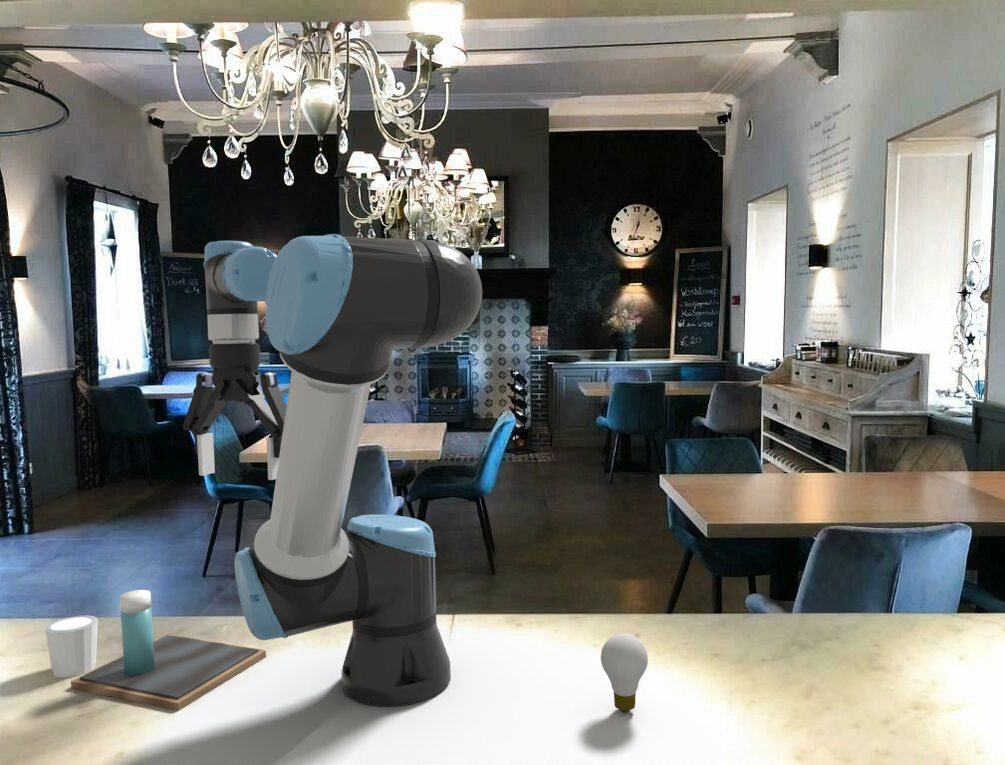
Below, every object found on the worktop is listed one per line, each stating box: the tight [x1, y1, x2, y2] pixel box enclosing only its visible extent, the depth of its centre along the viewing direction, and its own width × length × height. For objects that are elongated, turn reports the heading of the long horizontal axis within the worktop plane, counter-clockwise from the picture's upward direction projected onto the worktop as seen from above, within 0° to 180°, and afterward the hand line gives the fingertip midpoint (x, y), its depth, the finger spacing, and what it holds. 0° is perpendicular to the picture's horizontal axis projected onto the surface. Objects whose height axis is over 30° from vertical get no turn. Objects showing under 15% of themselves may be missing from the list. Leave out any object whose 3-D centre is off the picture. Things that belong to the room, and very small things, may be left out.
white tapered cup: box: [44, 615, 98, 678], centre depth 115 cm, size 7×7×7 cm
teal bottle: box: [119, 589, 155, 675], centre depth 111 cm, size 4×4×11 cm
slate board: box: [70, 634, 267, 711], centre depth 113 cm, size 20×18×1 cm
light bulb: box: [600, 633, 649, 714], centre depth 98 cm, size 6×6×10 cm
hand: (240, 476), depth 123 cm, fingers open, 13 cm apart
